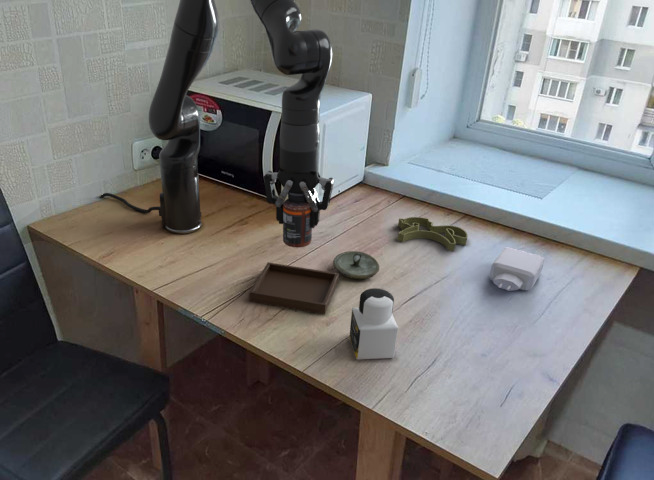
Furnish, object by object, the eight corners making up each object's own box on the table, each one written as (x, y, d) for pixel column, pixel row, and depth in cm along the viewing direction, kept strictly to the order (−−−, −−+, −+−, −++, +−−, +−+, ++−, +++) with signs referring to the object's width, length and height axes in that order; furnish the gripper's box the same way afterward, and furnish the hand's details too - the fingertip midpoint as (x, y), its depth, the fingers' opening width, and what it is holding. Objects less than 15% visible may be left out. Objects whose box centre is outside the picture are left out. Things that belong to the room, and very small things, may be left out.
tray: (249, 301, 129) (249, 292, 128) (267, 270, 140) (267, 262, 139) (324, 314, 125) (325, 305, 124) (338, 282, 136) (338, 273, 135)
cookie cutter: (389, 239, 154) (390, 232, 153) (400, 220, 163) (401, 213, 162) (462, 253, 148) (464, 246, 147) (469, 233, 157) (471, 226, 156)
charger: (479, 291, 133) (499, 263, 144) (522, 304, 129) (540, 275, 139) (483, 272, 131) (503, 245, 141) (527, 285, 126) (545, 256, 137)
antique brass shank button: (350, 261, 147) (346, 242, 145) (387, 263, 141) (384, 244, 139) (327, 281, 140) (323, 261, 138) (366, 285, 134) (362, 264, 132)
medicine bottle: (348, 337, 118) (353, 284, 112) (385, 335, 119) (392, 283, 113) (356, 360, 112) (362, 306, 106) (394, 358, 113) (402, 304, 107)
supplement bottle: (312, 236, 128) (314, 186, 123) (310, 249, 123) (313, 197, 118) (283, 235, 129) (284, 184, 123) (281, 248, 124) (282, 196, 118)
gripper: (341, 141, 117) (335, 221, 125) (269, 134, 120) (268, 212, 129) (332, 154, 111) (328, 237, 119) (257, 146, 114) (258, 227, 123)
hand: (297, 224), depth 124 cm, fingers closed on supplement bottle, 6 cm apart
